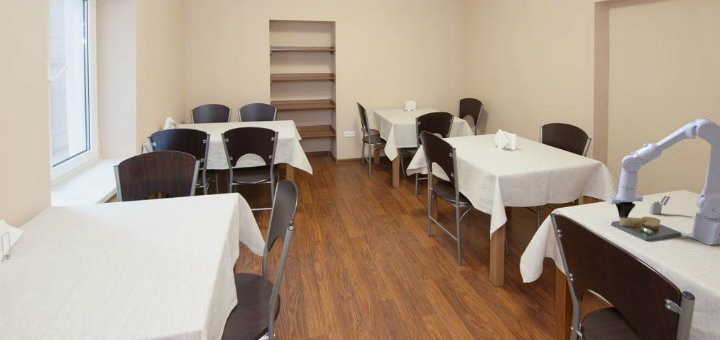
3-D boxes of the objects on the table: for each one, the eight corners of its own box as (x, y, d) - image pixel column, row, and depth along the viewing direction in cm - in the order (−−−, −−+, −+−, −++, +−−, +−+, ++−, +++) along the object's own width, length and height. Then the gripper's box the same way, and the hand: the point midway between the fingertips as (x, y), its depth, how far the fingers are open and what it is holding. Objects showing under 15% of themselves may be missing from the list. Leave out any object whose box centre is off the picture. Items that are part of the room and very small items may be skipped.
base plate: (680, 236, 167) (681, 228, 166) (645, 240, 163) (647, 232, 162) (643, 221, 182) (644, 214, 181) (611, 225, 178) (612, 217, 177)
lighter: (652, 214, 190) (655, 196, 188) (649, 213, 191) (652, 195, 189) (667, 213, 190) (670, 195, 188) (664, 212, 192) (667, 194, 190)
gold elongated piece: (655, 224, 173) (656, 217, 172) (661, 230, 168) (663, 222, 167) (617, 221, 176) (618, 214, 176) (621, 227, 171) (622, 220, 170)
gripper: (634, 182, 177) (629, 214, 181) (603, 185, 174) (599, 218, 177) (649, 187, 171) (644, 220, 174) (618, 190, 167) (613, 224, 171)
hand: (622, 220), depth 175 cm, fingers closed
